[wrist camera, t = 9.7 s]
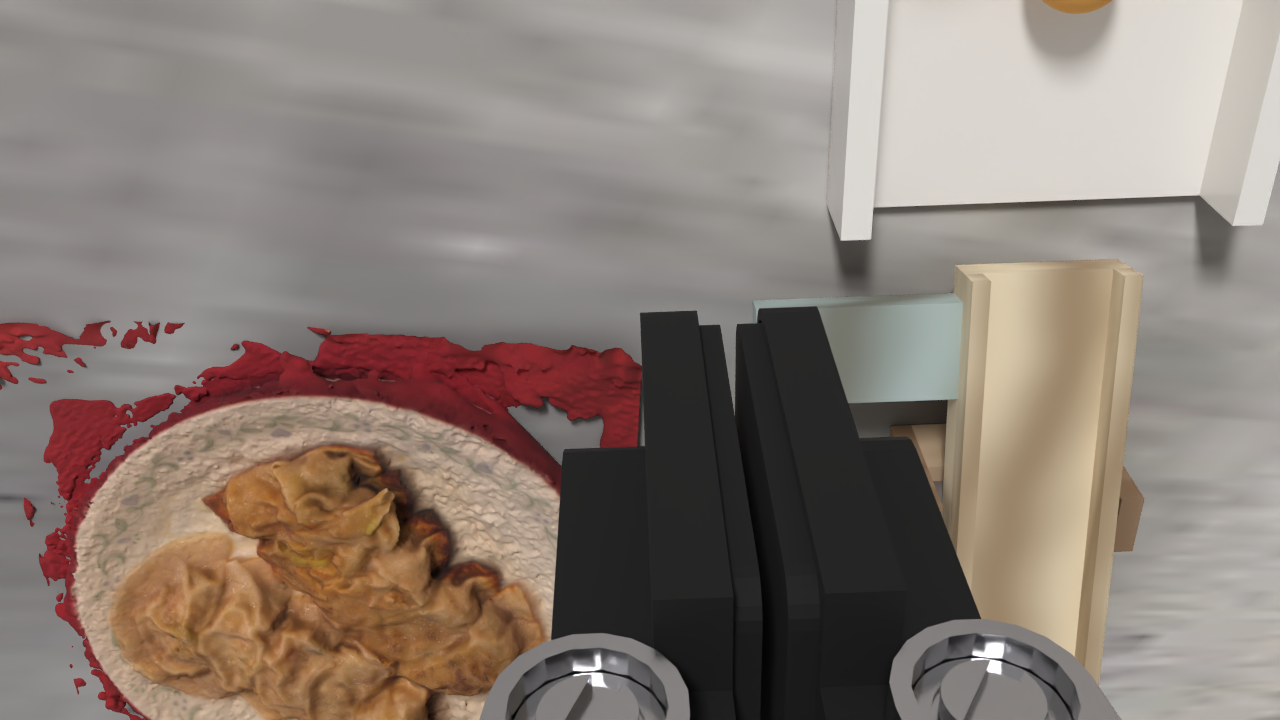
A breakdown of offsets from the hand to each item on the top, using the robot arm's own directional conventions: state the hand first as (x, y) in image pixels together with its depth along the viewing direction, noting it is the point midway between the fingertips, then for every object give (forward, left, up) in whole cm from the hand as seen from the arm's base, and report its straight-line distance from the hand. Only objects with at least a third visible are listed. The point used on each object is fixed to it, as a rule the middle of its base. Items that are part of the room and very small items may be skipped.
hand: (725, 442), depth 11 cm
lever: (-9, +21, -25) cm, 34 cm away
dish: (-13, +4, -29) cm, 32 cm away
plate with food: (+14, +28, -30) cm, 43 cm away
